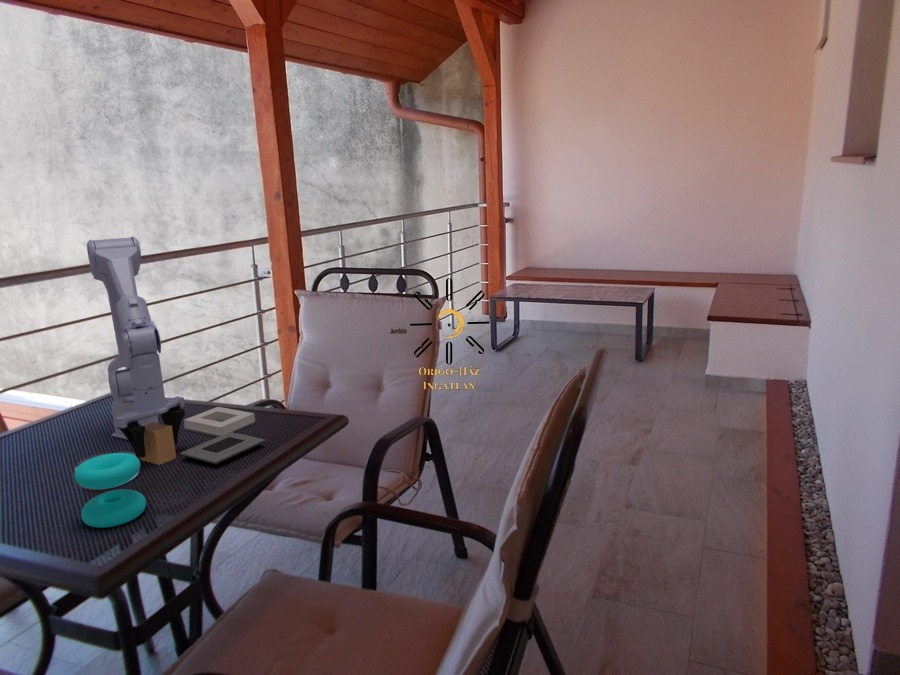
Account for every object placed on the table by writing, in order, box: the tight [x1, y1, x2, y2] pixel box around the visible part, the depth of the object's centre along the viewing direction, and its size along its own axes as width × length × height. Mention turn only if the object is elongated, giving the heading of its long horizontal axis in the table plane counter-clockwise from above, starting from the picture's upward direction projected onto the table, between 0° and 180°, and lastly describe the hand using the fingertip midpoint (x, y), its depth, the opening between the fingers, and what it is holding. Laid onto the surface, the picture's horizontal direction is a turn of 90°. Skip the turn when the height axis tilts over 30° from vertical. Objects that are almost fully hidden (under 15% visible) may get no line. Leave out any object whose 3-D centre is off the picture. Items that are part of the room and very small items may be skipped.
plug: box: [139, 422, 177, 466], centre depth 141 cm, size 6×4×7 cm, turn 60°
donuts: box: [73, 452, 147, 529], centre depth 116 cm, size 10×10×10 cm
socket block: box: [183, 406, 256, 438], centre depth 159 cm, size 12×10×2 cm
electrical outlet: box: [179, 432, 266, 466], centre depth 143 cm, size 13×10×2 cm
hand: (157, 449), depth 141 cm, fingers open, 7 cm apart
